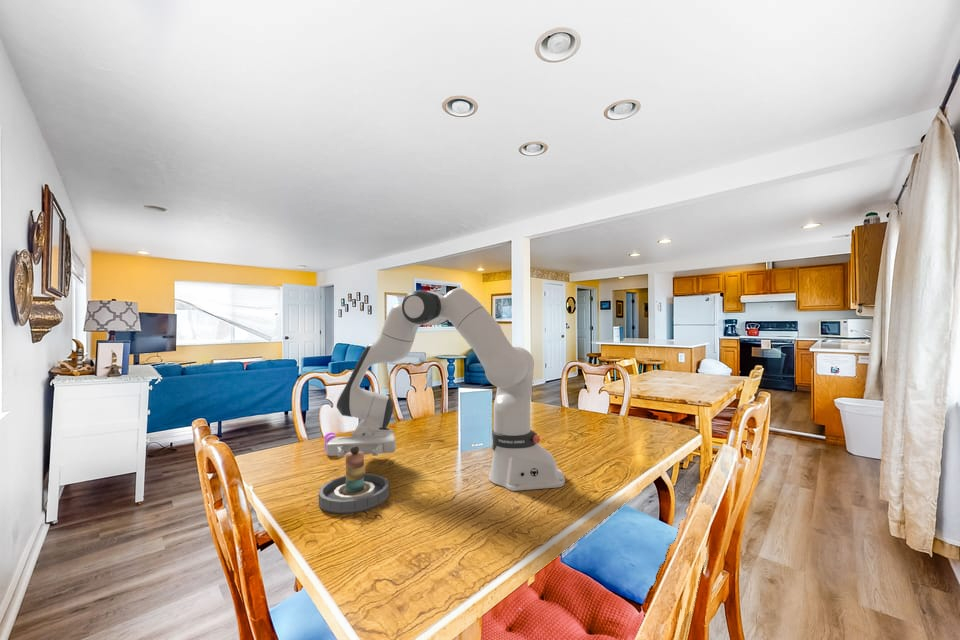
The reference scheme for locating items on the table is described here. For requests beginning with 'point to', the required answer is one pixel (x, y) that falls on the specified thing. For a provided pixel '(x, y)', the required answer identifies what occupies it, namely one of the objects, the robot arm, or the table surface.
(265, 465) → the table surface
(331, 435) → the bracket
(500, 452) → the robot arm
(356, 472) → the bead stack
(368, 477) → the tray
